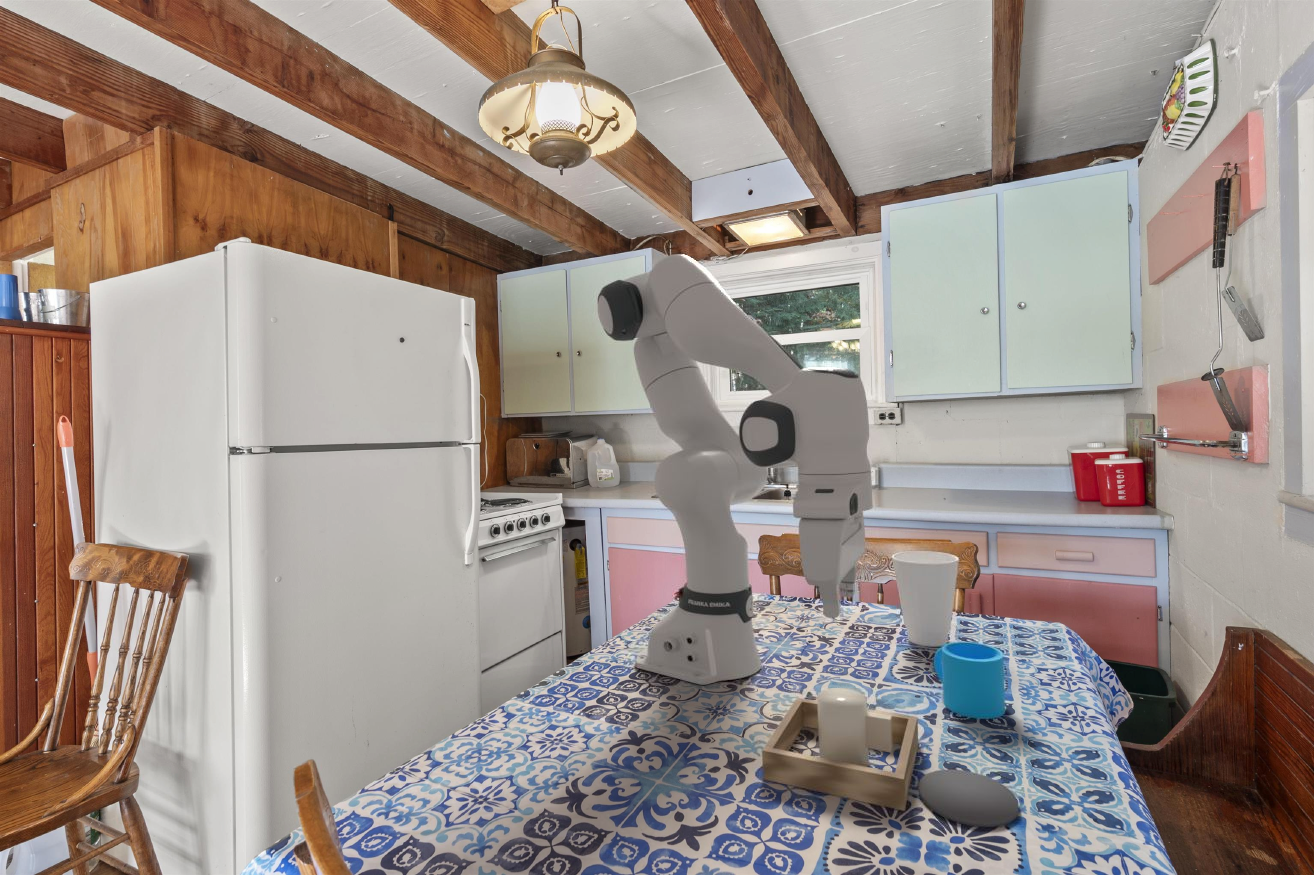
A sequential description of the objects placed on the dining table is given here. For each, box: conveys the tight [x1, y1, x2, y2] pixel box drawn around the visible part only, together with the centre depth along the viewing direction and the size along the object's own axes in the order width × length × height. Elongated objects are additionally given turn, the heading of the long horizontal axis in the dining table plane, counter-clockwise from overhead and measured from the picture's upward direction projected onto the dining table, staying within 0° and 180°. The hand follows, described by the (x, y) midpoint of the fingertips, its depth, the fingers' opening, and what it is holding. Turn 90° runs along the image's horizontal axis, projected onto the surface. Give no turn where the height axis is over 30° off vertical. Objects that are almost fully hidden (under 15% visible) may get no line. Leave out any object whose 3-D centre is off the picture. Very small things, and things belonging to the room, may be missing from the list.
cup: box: [891, 550, 960, 647], centre depth 122 cm, size 12×12×16 cm
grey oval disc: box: [918, 769, 1019, 828], centre depth 71 cm, size 10×10×1 cm
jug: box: [816, 687, 894, 768], centre depth 80 cm, size 9×6×8 cm
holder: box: [761, 697, 919, 812], centre depth 80 cm, size 16×16×4 cm
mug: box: [933, 641, 1006, 720], centre depth 96 cm, size 12×8×8 cm
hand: (840, 605), depth 80 cm, fingers open, 8 cm apart
